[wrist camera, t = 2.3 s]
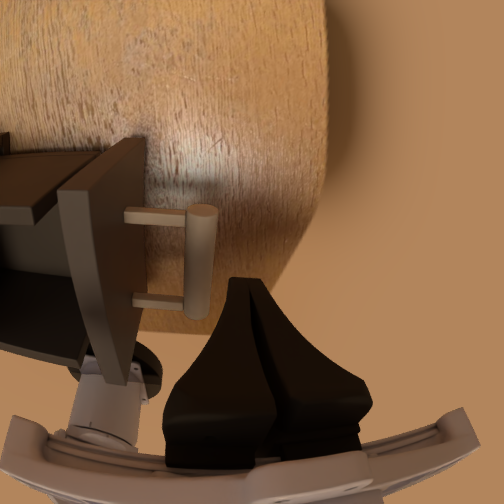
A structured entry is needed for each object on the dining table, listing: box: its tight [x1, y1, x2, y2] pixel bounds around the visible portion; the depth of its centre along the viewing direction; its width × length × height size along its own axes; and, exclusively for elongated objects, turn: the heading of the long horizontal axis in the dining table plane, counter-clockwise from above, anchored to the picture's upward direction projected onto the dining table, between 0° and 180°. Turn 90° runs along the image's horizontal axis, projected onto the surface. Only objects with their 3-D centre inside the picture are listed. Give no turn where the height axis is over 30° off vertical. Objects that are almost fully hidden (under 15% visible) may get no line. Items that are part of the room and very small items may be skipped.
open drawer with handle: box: [0, 138, 219, 386], centre depth 13 cm, size 18×10×8 cm, turn 81°
